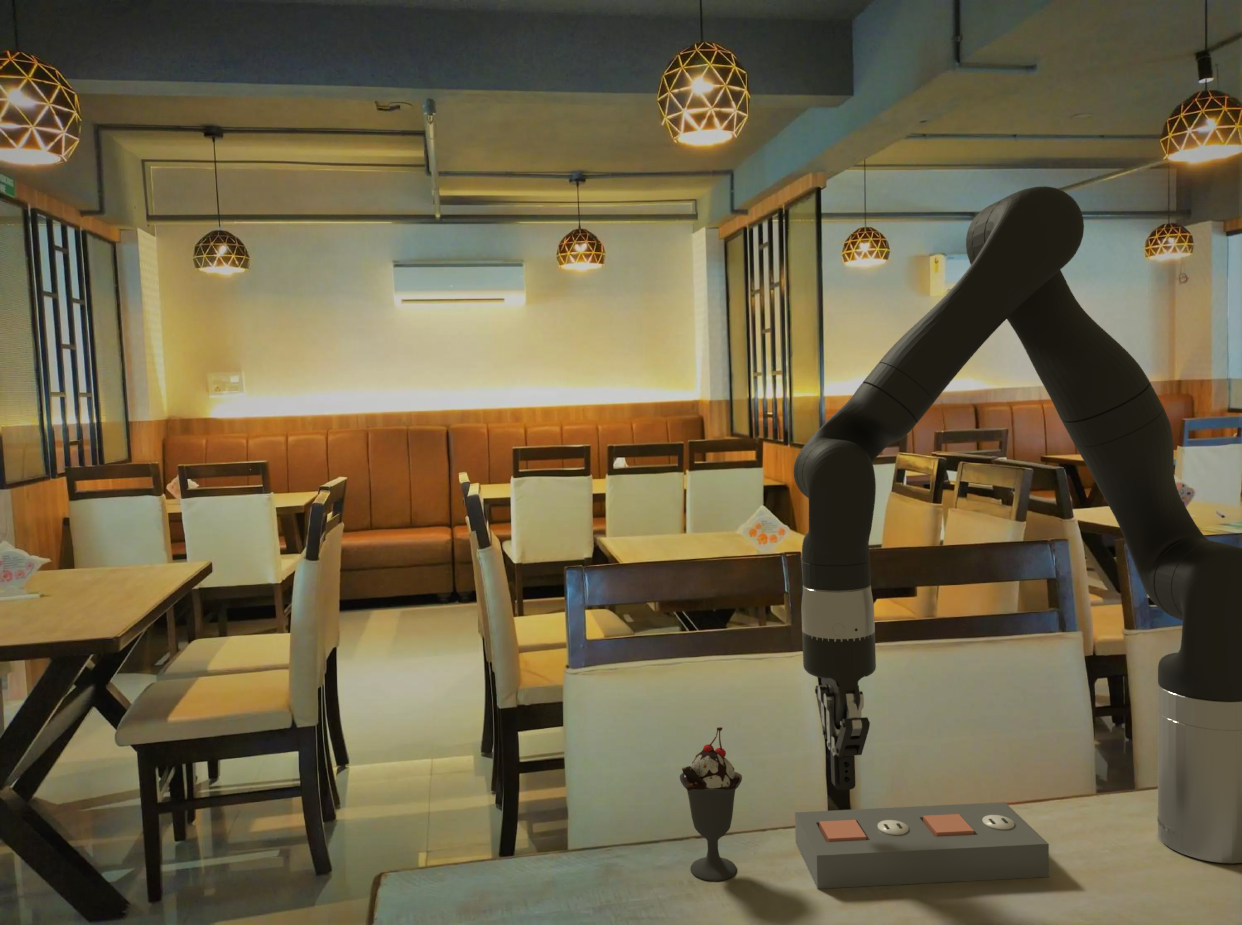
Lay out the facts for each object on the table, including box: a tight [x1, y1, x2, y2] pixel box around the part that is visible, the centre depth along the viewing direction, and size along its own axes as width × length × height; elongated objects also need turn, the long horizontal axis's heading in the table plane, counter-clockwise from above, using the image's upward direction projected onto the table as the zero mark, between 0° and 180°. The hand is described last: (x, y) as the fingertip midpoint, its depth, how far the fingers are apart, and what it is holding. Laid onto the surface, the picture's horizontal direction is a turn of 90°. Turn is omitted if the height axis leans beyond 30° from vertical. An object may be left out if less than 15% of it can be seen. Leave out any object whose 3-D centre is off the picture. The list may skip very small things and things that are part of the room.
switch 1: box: [819, 820, 866, 842], centre depth 99 cm, size 4×4×2 cm
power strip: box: [794, 801, 1050, 890], centre depth 99 cm, size 24×10×4 cm, turn 92°
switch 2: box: [923, 814, 974, 837], centre depth 99 cm, size 4×4×2 cm
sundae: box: [679, 726, 743, 882], centre depth 98 cm, size 7×7×15 cm
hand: (843, 786), depth 99 cm, fingers closed
